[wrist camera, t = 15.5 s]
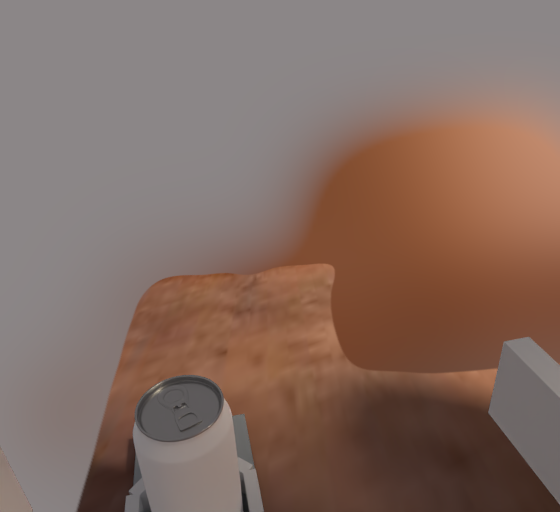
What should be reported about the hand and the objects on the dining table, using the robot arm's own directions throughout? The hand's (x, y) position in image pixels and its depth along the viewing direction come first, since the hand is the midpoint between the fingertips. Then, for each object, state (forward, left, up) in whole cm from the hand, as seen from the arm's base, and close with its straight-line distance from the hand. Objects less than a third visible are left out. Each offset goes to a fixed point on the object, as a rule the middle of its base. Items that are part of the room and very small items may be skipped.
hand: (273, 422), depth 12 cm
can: (+4, -14, -24) cm, 29 cm away
